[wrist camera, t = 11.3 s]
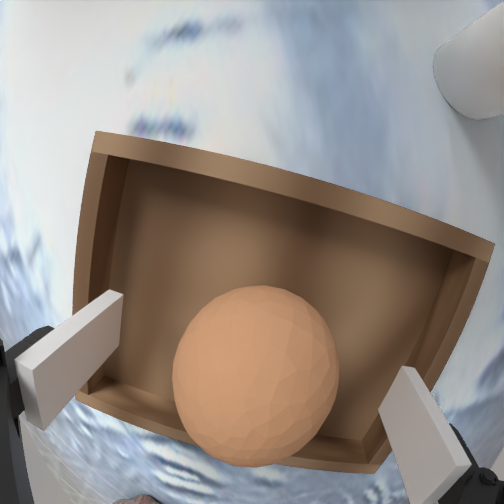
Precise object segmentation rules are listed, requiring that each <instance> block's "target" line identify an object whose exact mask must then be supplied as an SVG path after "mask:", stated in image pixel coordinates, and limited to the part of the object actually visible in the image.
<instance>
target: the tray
mask: <svg viewBox="0 0 504 504" xmlns="http://www.w3.org/2000/svg"><path fill="white" fill-rule="evenodd" d="M494 246H495V244H494V243H492V242H490V241H487V240H485V239H483V238H480V237H478V236H476V235H473V234H471V233H469V232H466V231H464V230H461V229H459V228H456V227H454V226H451V225H449V224H446V223H444V222H441V221H439V220H436V219H434V218H431V217H428V216H426V215H423V214H420V213H418V212H415V211H412V210H409V209H407V208H404V207H401V206H398V205H395V204H393V203H390V202H387V201H384V200H381V199H378V198H375V197H372V196H369V195H366V194H363V193H360V192H357V191H354V190H351V189H348V188H344V187H341V186H338V185H335V184H331V183H328V182H325V181H321V180H318V179H315V178H311V177H308V176H304V175H301V174H297V173H294V172H290V171H286V170H283V169H279V168H275V167H271V166H268V165H264V164H260V163H256V162H252V161H248V160H244V159H240V158H235V157H231V156H227V155H223V154H218V153H214V152H209V151H205V150H200V149H195V148H191V147H186V146H181V145H176V144H171V143H166V142H160V141H155V140H150V139H144V138H138V137H132V136H126V135H120V134H114V133H107V132H101V131H96V132H95V136H94V140H93V145H92V149H91V154H90V159H89V164H88V169H87V174H86V180H85V185H84V191H83V198H82V204H81V211H80V219H79V227H78V235H77V245H76V255H75V268H74V284H73V313H72V316H73V315H74V314H75V313H77V312H78V311H80V310H81V309H82V308H84V307H85V306H86V305H88V304H89V303H91V302H92V301H93V300H95V299H96V298H98V297H99V296H100V295H102V294H103V293H105V292H106V291H108V290H109V289H110V290H113V291H115V292H118V293H121V294H124V297H123V306H122V316H121V328H120V340H119V346H118V347H117V348H116V349H115V350H114V351H113V353H112V354H111V355H110V356H109V357H108V358H107V359H106V360H105V362H104V363H103V364H102V365H101V366H100V367H99V368H98V369H97V370H96V372H95V373H94V374H93V375H92V376H91V377H90V378H89V380H88V381H87V382H86V383H85V384H84V385H83V386H82V387H81V389H80V390H79V391H78V392H77V393H76V394H75V398H76V400H77V401H79V402H81V403H84V404H86V405H88V406H90V407H92V408H94V409H97V410H99V411H101V412H103V413H106V414H108V415H110V416H113V417H115V418H118V419H120V420H122V421H125V422H127V423H130V424H133V425H135V426H138V427H140V428H143V429H146V430H149V431H151V432H154V433H157V434H160V435H163V436H166V437H169V438H172V439H175V440H178V441H182V442H185V443H188V444H192V445H195V446H199V445H198V444H197V443H196V442H195V441H194V440H193V439H192V438H191V437H190V436H189V434H188V432H187V431H186V429H185V428H184V426H183V423H182V421H181V419H180V416H179V414H178V411H177V407H176V404H175V399H174V391H173V382H172V373H173V361H174V358H175V354H176V351H177V348H178V344H179V342H180V340H181V338H182V336H183V335H184V333H185V331H186V329H187V327H188V325H189V323H190V322H191V321H192V320H193V318H194V317H195V316H196V315H197V314H198V313H199V311H200V310H201V309H202V308H203V307H205V306H206V305H207V304H208V303H210V302H211V301H212V300H213V299H214V298H216V297H218V296H220V295H223V294H225V293H227V292H229V291H231V290H233V289H236V288H242V287H247V286H262V285H266V286H271V287H276V288H281V289H285V290H287V291H289V292H291V293H293V294H295V295H297V296H300V297H302V298H303V299H304V300H305V301H306V302H308V303H309V304H310V305H311V306H312V307H314V308H315V309H316V310H317V311H318V313H319V314H320V315H321V316H322V317H323V319H324V320H325V321H326V323H327V325H328V328H329V330H330V332H331V334H332V336H333V338H334V341H335V343H336V347H337V353H338V359H339V384H338V389H337V394H336V399H335V401H334V403H333V406H332V408H331V411H330V413H329V414H328V416H327V418H326V419H325V421H324V422H323V424H322V426H321V427H320V429H319V430H318V432H317V433H316V435H315V436H314V437H313V438H312V439H311V440H310V441H309V442H308V443H307V444H306V445H305V446H303V447H302V448H301V449H300V450H299V451H298V452H296V453H294V454H293V455H291V456H289V457H287V458H286V459H284V460H282V461H280V462H278V463H275V464H279V465H285V466H292V467H299V468H306V469H315V470H324V471H334V472H347V473H366V474H374V473H375V472H376V471H377V470H378V468H379V467H380V466H381V465H382V463H383V462H384V461H385V459H386V458H387V457H388V455H389V454H390V453H391V451H392V447H391V445H390V442H389V439H388V436H387V433H386V431H385V428H384V425H383V422H382V420H381V417H380V414H379V411H378V408H379V407H380V405H381V403H382V402H383V400H384V398H385V396H386V394H387V393H388V391H389V389H390V387H391V385H392V384H393V382H394V380H395V378H396V376H397V374H398V372H399V370H400V368H401V366H407V367H413V368H415V369H416V371H417V372H418V374H419V375H420V377H421V379H422V380H423V382H424V383H425V385H426V387H427V388H428V390H429V391H430V392H431V390H432V389H433V387H434V385H435V383H436V381H437V380H438V378H439V376H440V374H441V372H442V371H443V369H444V367H445V365H446V363H447V361H448V359H449V357H450V355H451V353H452V351H453V349H454V347H455V345H456V343H457V341H458V339H459V337H460V335H461V332H462V330H463V328H464V326H465V324H466V321H467V319H468V317H469V314H470V312H471V310H472V307H473V305H474V302H475V300H476V297H477V295H478V292H479V290H480V287H481V284H482V282H483V279H484V276H485V273H486V270H487V267H488V264H489V261H490V258H491V255H492V252H493V249H494ZM199 447H200V446H199Z"/></svg>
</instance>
